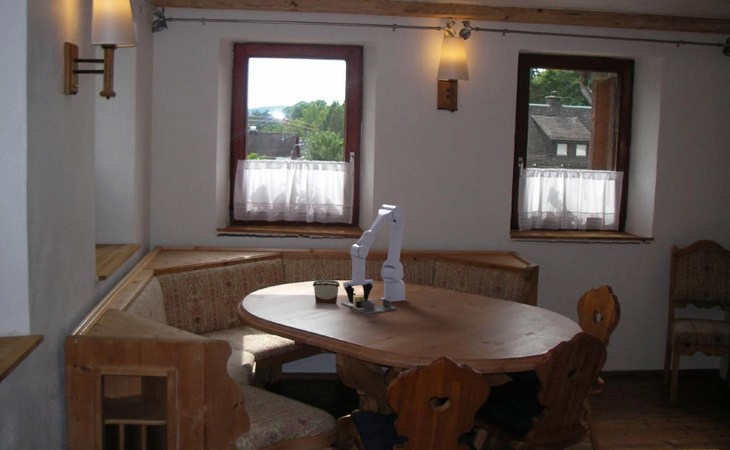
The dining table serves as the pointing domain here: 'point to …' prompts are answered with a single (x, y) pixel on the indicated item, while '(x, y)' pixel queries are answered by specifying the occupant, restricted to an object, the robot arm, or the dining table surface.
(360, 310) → the rail
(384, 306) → the grey finned base plate
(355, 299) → the clip
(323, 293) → the food container
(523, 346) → the dining table surface
